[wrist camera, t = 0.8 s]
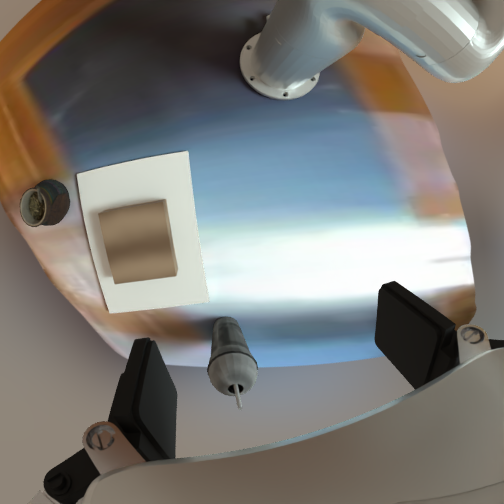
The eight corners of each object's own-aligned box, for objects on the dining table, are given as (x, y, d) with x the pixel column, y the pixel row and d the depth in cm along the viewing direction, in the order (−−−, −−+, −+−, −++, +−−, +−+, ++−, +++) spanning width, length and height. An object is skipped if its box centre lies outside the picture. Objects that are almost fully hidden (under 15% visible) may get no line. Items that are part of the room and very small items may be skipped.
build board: (78, 173, 36) (76, 174, 35) (188, 151, 38) (187, 151, 37) (110, 311, 44) (109, 313, 43) (209, 299, 46) (209, 301, 45)
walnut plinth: (104, 210, 38) (98, 213, 35) (166, 198, 39) (163, 201, 36) (119, 276, 41) (114, 284, 38) (178, 268, 42) (176, 276, 40)
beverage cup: (206, 344, 48) (212, 431, 30) (204, 310, 46) (207, 397, 27) (246, 342, 50) (267, 427, 31) (246, 308, 47) (272, 392, 29)
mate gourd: (35, 208, 36) (2, 219, 26) (52, 168, 35) (18, 171, 25) (64, 229, 38) (33, 246, 28) (82, 189, 37) (51, 197, 27)
